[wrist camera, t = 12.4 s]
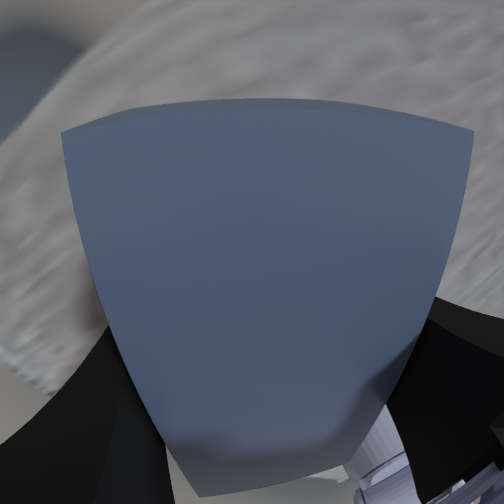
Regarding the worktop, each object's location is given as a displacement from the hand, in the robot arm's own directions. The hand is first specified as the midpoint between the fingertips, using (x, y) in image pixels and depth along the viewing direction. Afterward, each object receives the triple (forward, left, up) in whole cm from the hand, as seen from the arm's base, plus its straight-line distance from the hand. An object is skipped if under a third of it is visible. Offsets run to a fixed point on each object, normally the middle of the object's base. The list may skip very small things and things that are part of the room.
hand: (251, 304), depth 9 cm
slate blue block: (0, 0, -2) cm, 2 cm away
